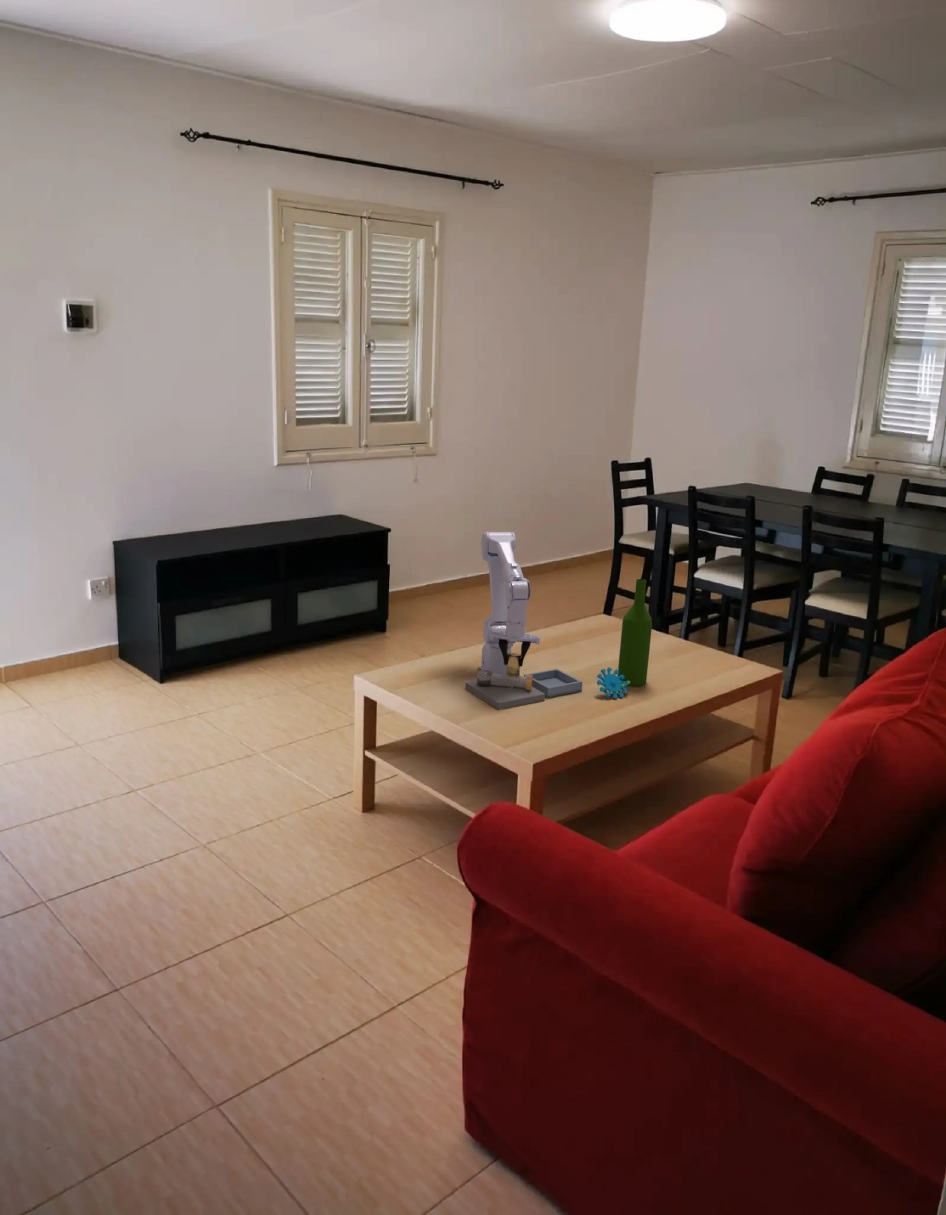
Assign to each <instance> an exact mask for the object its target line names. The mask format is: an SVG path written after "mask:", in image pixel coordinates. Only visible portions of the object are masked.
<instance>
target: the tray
mask: <svg viewBox="0 0 946 1215" xmlns="http://www.w3.org/2000/svg"><path fill="white" fill-rule="evenodd" d="M527 675H533V682H532V687H534V688H535V689H537V690H539V691H541V692H542V693H544V694H545V698H547V699H549V698H554V697H559V695H560V696H563V695H569V694H574V693H575V694H576V693H579V691H580V692H582V691H583V681H582V680H580V679H578V678H576V677H574V676H572V675H570V674H568V673H567V672H564V671H562V670H561V669H559V668H553V669H547V670H543V671H542V670H541V671H538V672H532V673H531V672H530V673H526V674H523V676H526V677H527Z"/></svg>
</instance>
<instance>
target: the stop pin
mask: <svg viewBox="0 0 946 1215" xmlns="http://www.w3.org/2000/svg"><path fill="white" fill-rule="evenodd" d="M520 659H521V653H517V652H511V653H508V654H507V668H506V675H515V676H521V674H520V673H521V666H520Z"/></svg>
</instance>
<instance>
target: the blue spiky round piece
mask: <svg viewBox="0 0 946 1215" xmlns="http://www.w3.org/2000/svg"><path fill="white" fill-rule="evenodd" d="M612 671H613V669H612V668H611V667H607V668H606V669H605V668H602V669H600V673H598V674H597V675H596V678H598V680H597V681H596V685H597V686H601V687H599V691H600V692H601V693H603V692H604V691H605V692H606V693H605V696H606V697H607V698H610V697H611V694H612V693H613V695H612V697H611V698H612V699H613V698H615V699H614V700H617V699H618V698H620V697H621V698H624V697H625V694H626V693H627V692H628V689H627V687H628V686H627V685H629V684H630V681H627V682H626V681H625V682H623V681H621V680H623V679H624V675H621V676H618V673H619V671H618V668H617V669H614V671H613V672H612ZM606 672H607V674H606ZM611 672H612V673H611ZM620 679H621V680H620ZM607 691H608V692H607ZM617 693H618V694H617Z"/></svg>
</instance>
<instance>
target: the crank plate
mask: <svg viewBox="0 0 946 1215" xmlns="http://www.w3.org/2000/svg"><path fill="white" fill-rule="evenodd" d="M465 689H466V690H467V691H469V692H470V693H472V694H474V695H475V696H476V697H478V698H480V699H481V700H483V701H484V702H485V703H487V704H489V705H491V706H492V707H494V708H495V709H497V710H505V709H508V708H514V707H519V706H523V705H529V704H533V703H539V702H545V700H546V697H545V694H544V693H542V692H541V691H539V690H537V689H535V688H534V687H532V688H531V690H526V688H522V687H510V686H499V685H490V686H480V685H478V684H477V679H475V680H470V681H466V682H465Z"/></svg>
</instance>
